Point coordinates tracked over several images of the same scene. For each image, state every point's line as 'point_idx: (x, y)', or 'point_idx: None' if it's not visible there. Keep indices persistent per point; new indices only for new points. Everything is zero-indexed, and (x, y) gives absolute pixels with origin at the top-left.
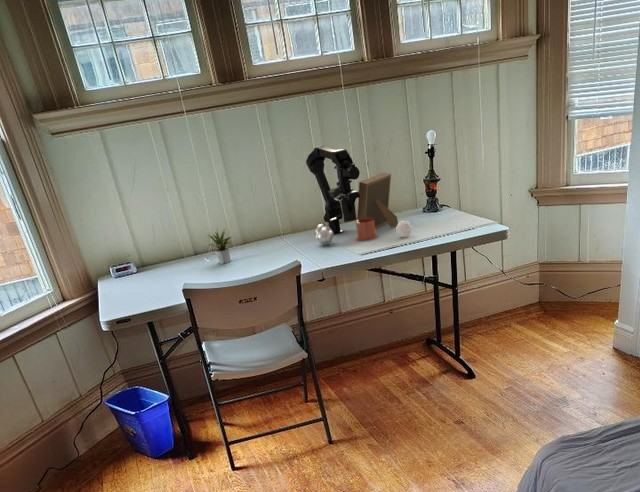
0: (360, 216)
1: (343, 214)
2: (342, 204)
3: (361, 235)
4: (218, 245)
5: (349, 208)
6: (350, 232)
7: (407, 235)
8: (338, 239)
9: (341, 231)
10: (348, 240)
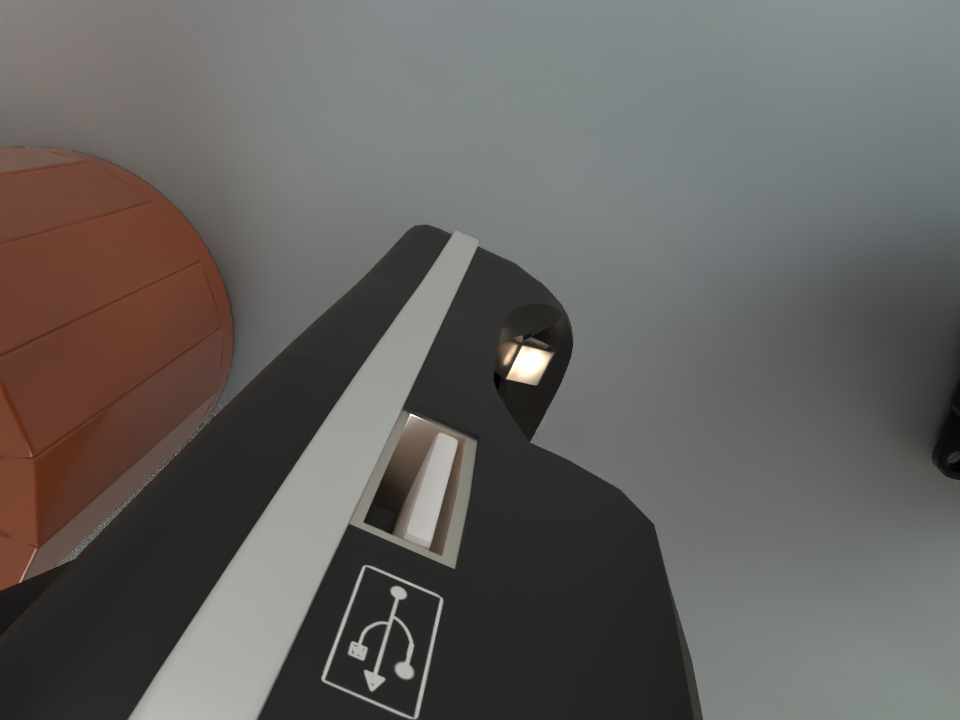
0: None
1: (357, 285)
2: (105, 555)
3: None
4: None
5: (14, 588)
6: (729, 475)
7: None
8: (575, 13)
9: (949, 431)
10: (281, 55)
